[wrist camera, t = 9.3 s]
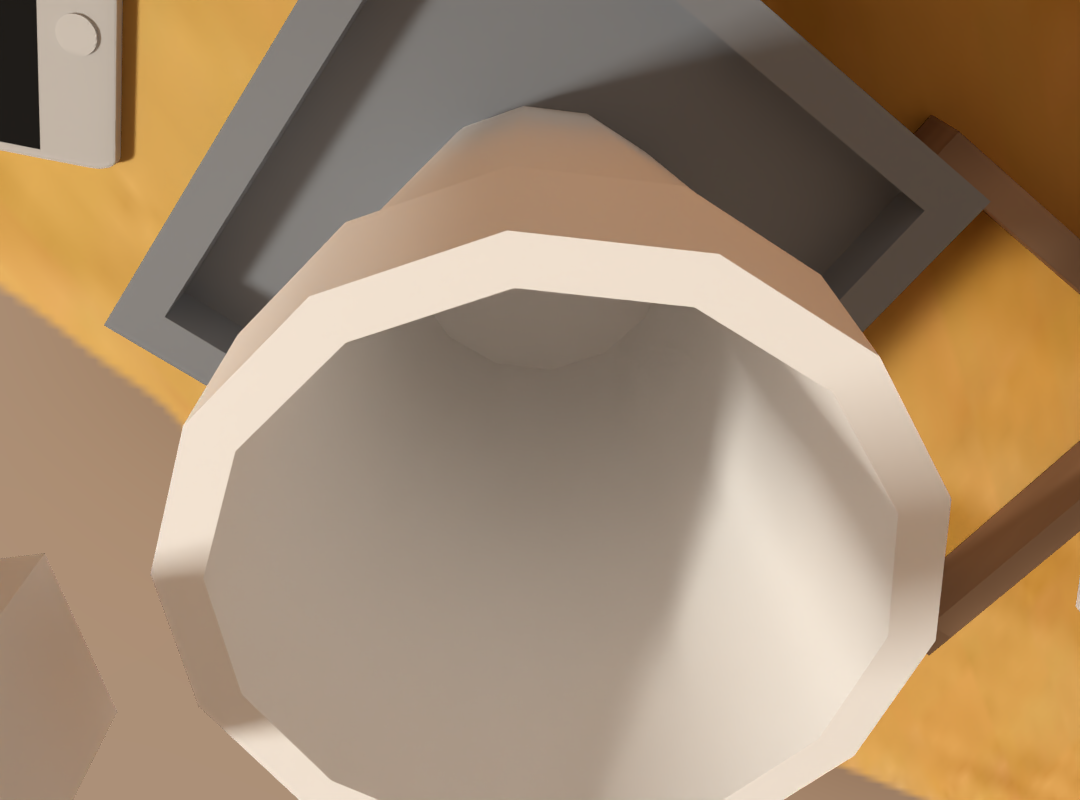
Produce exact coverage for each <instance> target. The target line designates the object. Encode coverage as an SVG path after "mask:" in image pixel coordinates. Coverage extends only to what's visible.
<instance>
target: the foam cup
mask: <svg viewBox="0 0 1080 800" xmlns="http://www.w3.org/2000/svg"><path fill="white" fill-rule="evenodd" d="M950 506H951V497H950V495H949V493H948V491H947V489H946V487H945V485H944V483H943V481H942V479H941V477H940V475H939V473H938V471H937V469H936V467H935V465H934V463H933V461H932V459H931V457H930V455H929V453H928V451H927V449H926V447H925V445H924V444H923V442H922V440H921V438H920V436H919V434H918V432H917V430H916V428H915V426H914V424H913V422H912V420H911V418H910V416H909V414H908V412H907V410H906V408H905V406H904V404H903V402H902V400H901V398H900V396H899V394H898V392H897V390H896V388H895V386H894V384H893V382H892V380H891V378H890V376H889V374H888V372H887V370H886V368H885V366H884V364H883V362H882V360H881V358H880V356H879V355H878V354H877V352H876V351H875V349H874V348H873V347H872V345H871V344H870V342H869V341H868V340H867V338H866V337H865V335H864V334H863V333H862V331H861V330H860V329H859V327H858V326H857V324H856V323H855V322H854V320H853V319H852V317H851V316H850V315H849V313H848V312H847V311H846V309H845V308H844V306H843V305H842V304H841V302H840V301H839V299H838V298H837V297H836V295H835V294H834V292H833V291H832V290H831V288H830V287H829V286H828V284H827V283H826V281H825V280H824V279H823V277H822V276H821V275H820V274H819V273H817V272H816V271H814V270H813V269H811V268H810V267H808V266H806V265H805V264H803V263H802V262H800V261H799V260H797V259H796V258H794V257H793V256H791V255H790V254H788V253H787V252H785V251H784V250H782V249H781V248H779V247H777V246H776V245H774V244H773V243H771V242H770V241H768V240H767V239H765V238H764V237H762V236H761V235H759V234H758V233H756V232H755V231H753V230H751V229H750V228H748V227H747V226H745V225H744V224H742V223H741V222H739V221H738V220H736V219H735V218H733V217H732V216H730V215H729V214H727V213H726V212H724V211H722V210H721V209H719V208H718V207H716V206H715V205H713V204H712V203H710V202H709V201H707V200H706V199H704V198H703V197H701V196H700V195H698V194H697V193H695V192H694V191H692V190H691V189H690V188H689V187H688V186H686V185H685V184H684V183H683V182H681V181H680V180H679V179H678V178H677V177H675V176H674V175H673V174H672V173H670V172H669V171H668V170H667V169H666V168H664V167H663V166H662V165H661V164H659V163H658V162H657V161H656V160H655V159H653V158H652V157H651V156H650V155H648V154H647V153H646V152H645V151H643V150H642V149H640V148H639V147H637V146H636V145H634V144H633V143H631V142H630V141H628V140H626V139H625V138H623V137H622V136H620V135H619V134H617V133H616V132H614V131H613V130H611V129H610V128H608V127H607V126H605V125H604V124H602V123H601V122H599V121H598V120H596V119H595V118H593V117H591V116H590V115H588V114H586V113H578V112H569V111H561V110H553V109H545V108H536V107H528V106H522V107H519V108H516V109H513V110H510V111H508V112H505V113H502V114H499V115H496V116H493V117H491V118H488V119H485V120H482V121H479V122H476V123H473V124H471V125H468V126H465V127H463V128H462V129H461V130H459V131H458V132H457V133H456V134H455V135H454V136H453V137H452V138H451V139H450V140H449V141H448V142H447V143H446V144H445V145H444V146H443V147H442V148H441V149H440V150H439V151H438V152H437V153H436V154H435V155H434V156H433V157H432V158H431V159H430V160H429V161H428V162H427V163H426V164H425V165H424V166H423V167H422V168H421V169H420V170H419V171H418V172H417V173H416V174H415V175H414V176H413V177H412V178H411V179H410V180H409V181H408V182H407V183H406V184H405V185H404V186H403V187H402V189H401V190H400V191H399V192H398V193H397V194H396V195H395V196H394V197H393V198H392V199H391V200H390V201H389V202H388V203H387V204H386V205H385V206H384V207H383V208H382V209H381V210H380V211H377V212H374V213H371V214H368V215H365V216H362V217H359V218H356V219H353V220H350V221H347V222H345V223H344V224H343V225H342V226H341V227H340V228H339V229H338V230H337V231H336V232H335V234H334V235H333V236H332V237H331V238H330V239H329V240H328V241H327V242H326V243H325V244H324V245H323V246H322V247H321V248H320V249H319V250H318V251H317V252H316V253H315V254H314V255H313V256H312V258H311V259H310V260H309V261H308V262H307V263H306V264H305V265H304V266H303V267H302V268H301V269H300V270H299V271H298V272H297V273H296V274H295V275H294V276H293V277H292V278H291V279H290V281H289V282H288V283H287V284H286V285H285V286H284V287H283V288H282V289H281V290H280V291H279V292H278V293H277V294H276V295H275V296H274V297H273V298H272V299H271V300H270V301H269V302H268V304H267V305H266V306H265V307H264V308H263V309H262V310H261V311H260V312H259V313H258V314H257V315H256V316H255V317H254V318H253V319H252V320H251V321H250V322H249V323H248V324H247V325H246V327H245V328H244V329H243V330H242V331H241V332H240V333H239V334H238V335H237V337H236V338H235V340H234V342H233V343H232V345H231V347H230V348H229V350H228V352H227V353H226V355H225V357H224V358H223V360H222V362H221V363H220V365H219V367H218V368H217V370H216V372H215V373H214V375H213V377H212V378H211V380H210V382H209V383H208V385H207V387H206V388H205V390H204V392H203V393H202V395H201V397H200V398H199V400H198V402H197V403H196V405H195V407H194V408H193V410H192V412H191V414H190V415H189V417H188V419H187V420H186V422H185V424H184V425H183V429H182V434H181V438H180V443H179V447H178V452H177V456H176V461H175V466H174V470H173V474H172V479H171V484H170V489H169V492H168V497H167V502H166V506H165V511H164V515H163V520H162V524H161V529H160V533H159V538H158V542H157V547H156V551H155V556H154V560H153V565H152V569H151V576H152V579H153V582H154V585H155V588H156V590H157V593H158V596H159V599H160V602H161V604H162V607H163V610H164V613H165V615H166V618H167V621H168V624H169V626H170V629H171V631H172V635H173V637H174V640H175V643H176V646H177V648H178V651H179V654H180V656H181V659H182V662H183V665H184V668H185V670H186V673H187V676H188V679H189V681H190V684H191V687H192V690H193V692H194V695H195V698H196V701H197V703H198V706H199V707H200V708H201V709H202V710H203V711H204V712H205V713H206V714H208V715H209V716H210V717H211V718H212V719H213V720H214V721H215V722H216V723H217V724H218V725H219V726H220V727H222V729H224V730H225V731H226V732H227V733H228V734H229V735H230V736H231V737H232V738H233V739H234V740H235V741H236V742H238V743H239V744H240V745H241V746H242V747H243V748H244V749H245V750H246V751H247V752H248V753H250V755H251V756H253V757H254V758H255V759H256V760H257V761H258V762H259V763H260V764H261V765H262V766H263V767H264V768H265V769H267V770H268V771H269V772H270V773H271V774H272V775H273V776H274V777H275V778H276V779H277V780H278V781H279V782H280V783H282V784H283V785H284V786H285V787H286V788H287V789H288V790H289V791H290V792H291V793H292V794H293V795H294V796H295V797H297V798H298V799H299V800H784V799H785V798H787V797H789V796H790V795H792V794H793V793H795V792H797V791H798V790H800V789H801V788H803V787H805V786H806V785H808V784H809V783H811V782H813V781H814V780H816V779H817V778H819V777H821V776H822V775H824V774H825V773H827V772H829V771H830V770H832V769H834V768H835V767H837V766H838V765H840V764H842V763H843V762H845V761H846V760H848V759H850V758H851V757H853V756H854V755H855V754H856V752H857V751H858V749H859V748H860V747H861V745H862V744H863V742H864V741H865V739H866V738H867V737H868V735H869V734H870V732H871V731H872V730H873V728H874V727H875V725H876V724H877V723H878V721H879V720H880V718H881V717H882V715H883V714H884V713H885V711H886V710H887V708H888V707H889V706H890V704H891V703H892V701H893V700H894V699H895V697H896V696H897V694H898V693H899V691H900V690H901V689H902V687H903V686H904V684H905V683H906V682H907V680H908V679H909V677H910V676H911V675H912V673H913V672H914V670H915V669H916V667H917V666H918V665H919V663H920V662H921V660H922V659H923V658H924V656H925V655H926V653H927V652H928V651H929V649H930V648H931V646H932V645H933V644H934V642H935V641H936V633H937V624H938V615H939V606H940V597H941V588H942V579H943V570H944V560H945V551H946V542H947V533H948V524H949V515H950Z"/></svg>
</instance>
